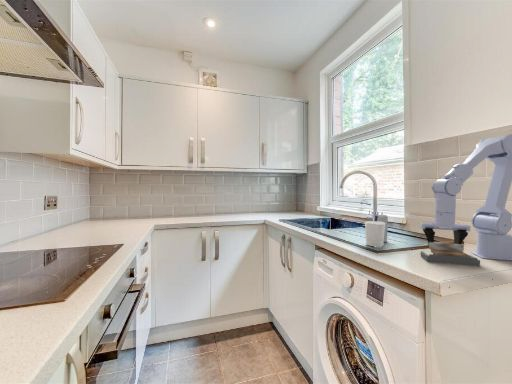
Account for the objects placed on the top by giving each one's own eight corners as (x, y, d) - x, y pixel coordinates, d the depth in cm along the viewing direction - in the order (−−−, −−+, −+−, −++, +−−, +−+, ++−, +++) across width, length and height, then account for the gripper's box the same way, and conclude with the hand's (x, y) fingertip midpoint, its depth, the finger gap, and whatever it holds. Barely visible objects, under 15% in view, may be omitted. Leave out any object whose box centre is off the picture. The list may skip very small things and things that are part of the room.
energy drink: (371, 240, 115) (372, 214, 115) (380, 239, 117) (380, 214, 117) (380, 242, 110) (381, 216, 110) (389, 241, 112) (390, 215, 112)
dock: (463, 256, 90) (463, 249, 89) (479, 266, 79) (480, 258, 79) (416, 253, 94) (416, 246, 94) (426, 261, 84) (427, 254, 84)
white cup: (360, 244, 107) (361, 221, 106) (372, 242, 111) (372, 220, 110) (377, 248, 100) (377, 224, 100) (388, 246, 104) (389, 223, 103)
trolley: (462, 257, 85) (462, 244, 85) (470, 261, 81) (470, 247, 80) (429, 254, 88) (429, 242, 88) (434, 258, 84) (434, 245, 83)
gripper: (463, 211, 89) (462, 248, 90) (418, 210, 94) (416, 245, 94) (474, 214, 83) (472, 253, 83) (424, 212, 87) (423, 250, 88)
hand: (443, 249), depth 88 cm, fingers open, 7 cm apart
